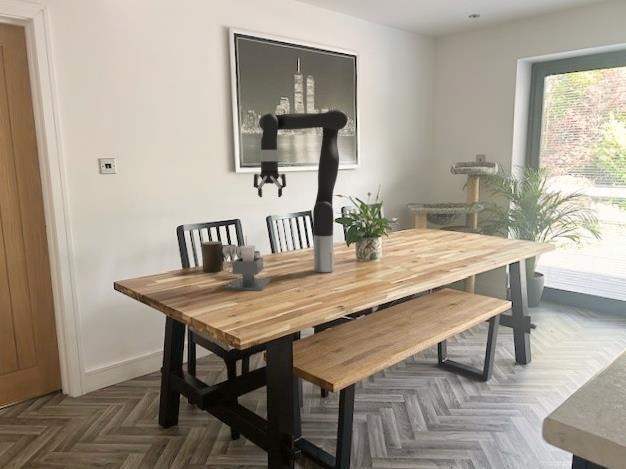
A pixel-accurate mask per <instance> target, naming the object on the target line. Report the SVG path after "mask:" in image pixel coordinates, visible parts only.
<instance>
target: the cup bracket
mask: <svg viewBox="0 0 626 469" xmlns="http://www.w3.org/2000/svg"><path fill="white" fill-rule="evenodd" d="M231 264H232V265H231V266H232V268H231V269H232V271H233V273H232V274H233V275H237V274H242V275H241V276H242V277H236V278H234V279H233V280H231V281H230V283H227V284H226V285H225V286H223V287H224V290H229V291H231V290H233V291H235V290H236V291H256V292H257V291H259V292H260V291H264V289H265V288H266V287H267V286H268V285H270V283H272V278H260V279H258V278H254V277H255V274H256V275H258V274H260V273H261V272H262V271H263V270H264V257H260V258H258V257H254V261H253V262H243V259H242V257H239V258H238V257H237V258H236V259H234V261H232V263H231Z"/></svg>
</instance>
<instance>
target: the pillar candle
mask: <svg viewBox="0 0 626 469" xmlns="http://www.w3.org/2000/svg"><path fill="white" fill-rule="evenodd" d="M222 245H223V242H222V241H219V240H218V241H217V240H216V241H215V240H214V241H213V240H210V241H203V242H201V254H202V256H201V258H202V260H201V261H202V262H201V263H202V272H204V273H208V274H209V273H220V272H224V271H223V269H224V261H223V260H224V259H223V258H224V257H223V256H222V254H221V246H222Z"/></svg>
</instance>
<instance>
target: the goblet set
mask: <svg viewBox="0 0 626 469" xmlns="http://www.w3.org/2000/svg"><path fill="white" fill-rule="evenodd" d="M241 246H243V245H239V244H238V245H236V244H222V246H221V254H222V256H223V258H224V260H225V268H223V271H222V272H229V273H230V274H233V270H232V268H228V265H227V264H228V259H229V257H230V258H231V261H232V262H233V261H235V258H237V259H238V258H239V257H242V253H241V249H240V247H241ZM254 257H258V258H261V251H259V250H255V251H254ZM236 275H237V276H243V275H242V274H236ZM254 278H258V279H261V276H257V274H254Z"/></svg>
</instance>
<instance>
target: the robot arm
mask: <svg viewBox="0 0 626 469" xmlns="http://www.w3.org/2000/svg"><path fill="white" fill-rule="evenodd" d="M347 124H348V116H347V113H346V112H344V111H343V110H342V109H331V110H328V111H327V112H317V113H315V112H314V113H307V112H306V113H304V112H303V113H301V112H300V113H298V112H297V113H295V112H294V113H293V112H292V113H291V112H290V113H282V114H274V113H266V114H263V115H262V116H260V118H259V120H258V125H259V127H260V128H261V130H262V137H261V139H260V149H261V150H260V174H259V173H254V174H253V188H256V189H257V196H258V197H259V198H262V197H263V188H262V187H264V185H265V184H267V185H268V184H272V185H273V184H275V186H276V187H277V188H278V189H277V194H278V195H277V197H278V198H281V197H282V196H283V188H285V187H287V182H286V181H287V180H286V178H287V177H286V174H285V173H280V174H279V156H278V154H279V152H278V134H279V133H278V132H279V131H280V130H282V131H283V130H286V131H289V130H303V129H304V130H305V129H315V128H322V138H321V140H322V141H321V146H320V154H319V159H318V160H319V162H318V170H317V194H316V198H315V203H314V206H313V212H312V215H313V216H312V217H313V218H312V219H313V220H312V221H313V225H312V226H313V271H314V272H315V273H317V272H318V273H331V272H332V273H333V271H334V268H335V267H334V266H335V264H334V261H335V260H334V259H335V258H334V257H335V255H334V254H335V253H334V252H335V251H334V208H333V198H334V195H333V194H334V189H335V185H336V181H337V177H338V173H339V164H340V154H339V148H338V136H339V131H340V130H342V129H344V128H345V127H346V126H347ZM279 178H280V180H281V183H280V182H279V180H278V179H279ZM259 179H261V181H260V183H259Z"/></svg>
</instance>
